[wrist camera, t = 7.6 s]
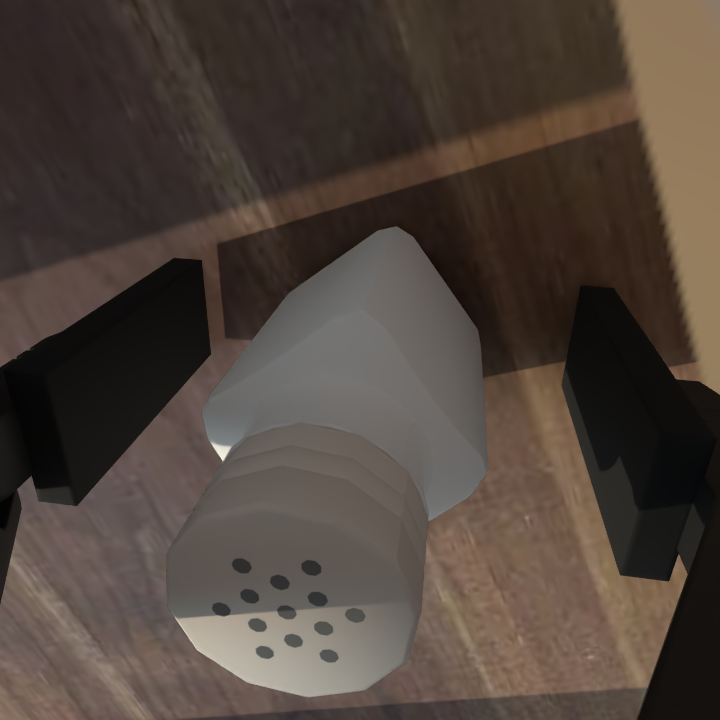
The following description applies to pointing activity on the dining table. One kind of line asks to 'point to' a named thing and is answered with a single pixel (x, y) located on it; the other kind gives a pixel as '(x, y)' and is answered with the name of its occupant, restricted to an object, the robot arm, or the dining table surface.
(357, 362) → the pepper shaker
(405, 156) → the dining table surface
